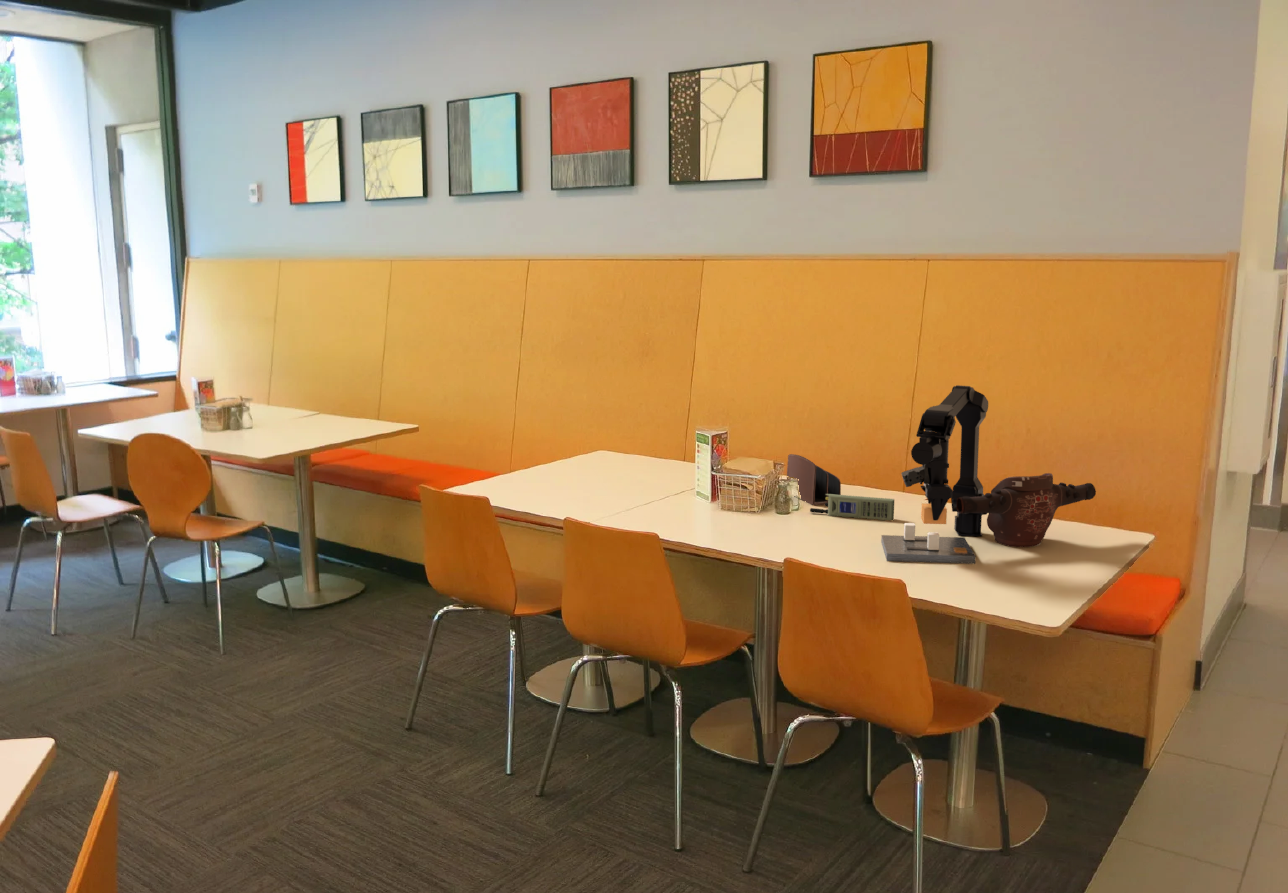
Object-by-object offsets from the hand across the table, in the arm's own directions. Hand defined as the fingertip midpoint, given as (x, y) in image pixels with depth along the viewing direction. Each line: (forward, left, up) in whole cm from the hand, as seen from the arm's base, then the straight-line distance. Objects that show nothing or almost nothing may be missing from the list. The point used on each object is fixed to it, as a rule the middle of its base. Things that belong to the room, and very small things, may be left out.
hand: (933, 517), depth 272 cm
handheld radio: (+19, -41, -11) cm, 46 cm away
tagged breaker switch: (0, 0, -8) cm, 8 cm away
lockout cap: (0, 0, -1) cm, 1 cm away
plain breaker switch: (+5, -9, -8) cm, 13 cm away
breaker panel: (+1, -4, -11) cm, 11 cm away
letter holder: (+30, -65, -11) cm, 72 cm away
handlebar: (-26, -15, -11) cm, 32 cm away
